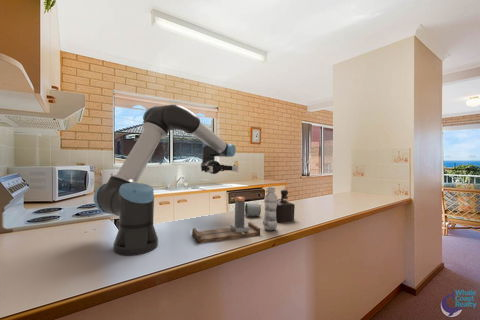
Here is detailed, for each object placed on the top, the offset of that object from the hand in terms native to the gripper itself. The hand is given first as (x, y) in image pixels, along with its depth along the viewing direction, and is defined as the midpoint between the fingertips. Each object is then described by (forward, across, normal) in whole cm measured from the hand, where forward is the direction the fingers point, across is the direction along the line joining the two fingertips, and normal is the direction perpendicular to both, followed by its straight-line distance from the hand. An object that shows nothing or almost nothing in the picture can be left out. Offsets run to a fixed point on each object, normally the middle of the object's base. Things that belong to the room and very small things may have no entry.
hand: (225, 169), depth 115 cm
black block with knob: (+4, -33, -28) cm, 44 cm away
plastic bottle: (+15, -18, -28) cm, 37 cm away
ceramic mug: (-12, -21, -28) cm, 37 cm away
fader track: (+15, +4, -28) cm, 32 cm away
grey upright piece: (+15, -2, -26) cm, 30 cm away
